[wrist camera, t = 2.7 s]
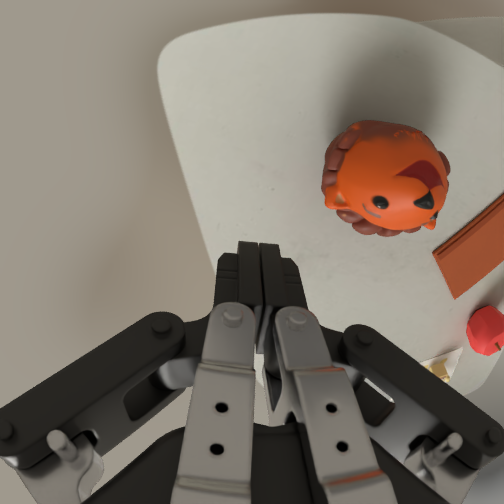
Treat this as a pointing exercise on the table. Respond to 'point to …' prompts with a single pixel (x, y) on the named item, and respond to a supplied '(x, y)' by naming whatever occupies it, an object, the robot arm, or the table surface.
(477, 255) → the book
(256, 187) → the table surface
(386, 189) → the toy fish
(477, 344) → the apple
